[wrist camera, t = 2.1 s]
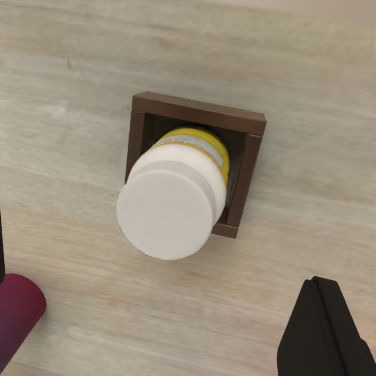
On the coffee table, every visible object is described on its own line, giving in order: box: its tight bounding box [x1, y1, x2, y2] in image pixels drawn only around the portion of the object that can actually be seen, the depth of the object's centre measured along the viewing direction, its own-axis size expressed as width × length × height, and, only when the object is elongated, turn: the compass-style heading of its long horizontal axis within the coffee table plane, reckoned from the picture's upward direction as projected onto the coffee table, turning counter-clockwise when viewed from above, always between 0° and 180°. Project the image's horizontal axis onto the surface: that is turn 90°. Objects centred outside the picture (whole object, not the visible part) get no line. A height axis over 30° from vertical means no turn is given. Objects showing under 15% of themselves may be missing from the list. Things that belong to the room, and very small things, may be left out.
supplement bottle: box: [116, 123, 230, 260], centre depth 16 cm, size 5×5×8 cm
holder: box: [125, 91, 267, 239], centre depth 19 cm, size 7×7×2 cm
